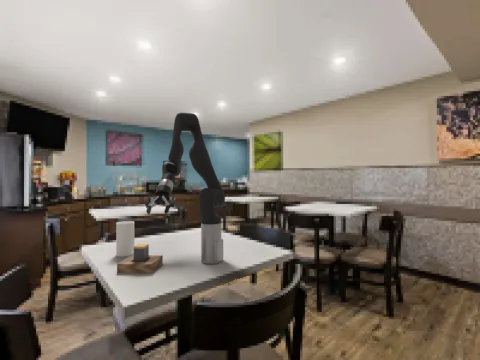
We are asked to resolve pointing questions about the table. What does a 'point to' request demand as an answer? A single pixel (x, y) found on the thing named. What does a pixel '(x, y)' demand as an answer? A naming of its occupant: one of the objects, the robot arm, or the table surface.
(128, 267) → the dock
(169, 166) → the robot arm
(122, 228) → the cup
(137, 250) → the block
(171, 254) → the table surface
